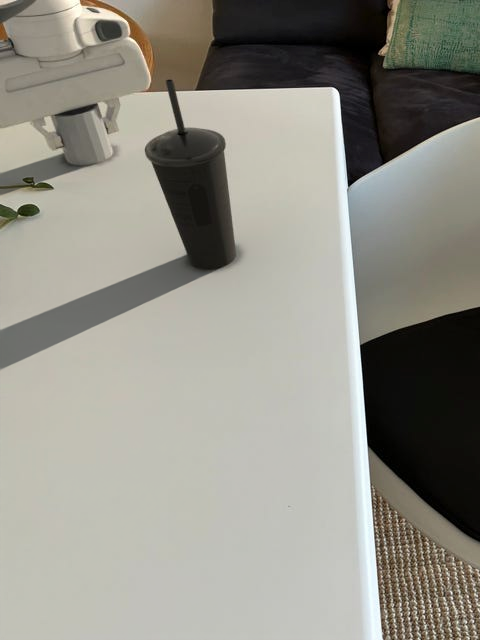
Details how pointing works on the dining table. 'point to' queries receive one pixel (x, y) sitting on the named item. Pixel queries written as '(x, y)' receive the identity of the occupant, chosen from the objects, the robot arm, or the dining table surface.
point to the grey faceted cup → (83, 135)
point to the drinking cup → (195, 189)
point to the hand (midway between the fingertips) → (84, 139)
